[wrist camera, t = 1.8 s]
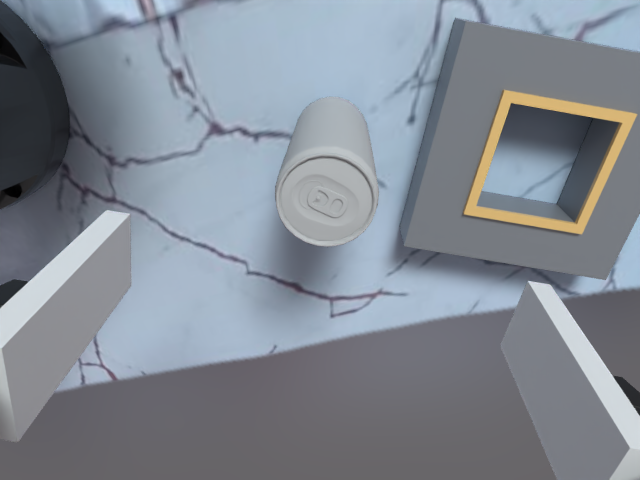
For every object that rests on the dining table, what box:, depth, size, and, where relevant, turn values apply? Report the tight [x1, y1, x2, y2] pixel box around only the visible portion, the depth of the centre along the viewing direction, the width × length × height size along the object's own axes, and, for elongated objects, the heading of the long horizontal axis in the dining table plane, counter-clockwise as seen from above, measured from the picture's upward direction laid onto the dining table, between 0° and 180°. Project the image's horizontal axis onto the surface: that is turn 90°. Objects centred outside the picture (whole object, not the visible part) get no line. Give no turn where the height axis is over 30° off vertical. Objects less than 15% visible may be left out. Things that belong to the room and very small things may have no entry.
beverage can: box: [275, 97, 379, 247], centre depth 27 cm, size 5×5×12 cm
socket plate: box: [400, 18, 640, 280], centre depth 31 cm, size 14×14×3 cm
